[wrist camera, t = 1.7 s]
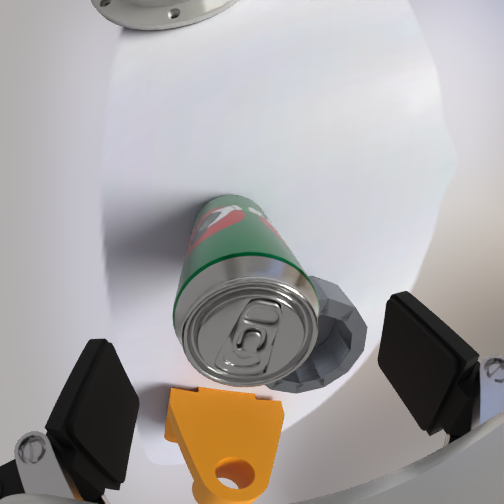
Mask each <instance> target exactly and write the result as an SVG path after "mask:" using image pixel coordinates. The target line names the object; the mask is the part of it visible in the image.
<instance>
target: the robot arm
mask: <svg viewBox="0 0 504 504" xmlns="http://www.w3.org/2000/svg"><path fill="white" fill-rule="evenodd" d="M238 1H239V0H91V2H92V4H93V5H94V7H95V8H96V9H97V10H98V12H99V13H101V15H103V16H104V17H105V18H106V19H107V20H109V21H111V22H113V23H115V24H117V25H120V26H123V27H127V28H131V29H141V30H162V29H169V28H175V27H181V26H185V25H189V24H192V23H196V22H199V21H202V20H204V19H207V18H210V17H212V16H215V15H217V14H219V13H220V12H222V11H224V10H226V9H228V8H230V7H231V6H232V5H234V4H235V3H236V2H238ZM174 16H178V17H177V18H174V19H172V18H173V17H174ZM478 358H479V354H478V353H477V352H476V351H475V350H474V349H473V348H472V347H471V346H469V345H468V344H467V343H466V342H465V341H464V340H463V339H462V338H461V337H460V336H459V335H458V334H456V333H455V332H454V331H453V330H452V329H451V328H450V327H449V326H447V325H446V324H445V323H444V322H443V321H442V320H441V319H440V318H439V317H437V316H436V315H435V314H434V313H433V312H432V311H430V310H429V309H428V308H427V307H426V306H425V305H423V304H422V303H421V302H420V301H419V300H418V299H416V298H415V297H414V296H413V295H412V294H410V293H409V292H407V291H404V292H400V293H396V294H393V295H391V297H390V299H389V300H388V301H387V303H386V310H385V317H384V324H383V331H382V337H381V343H380V349H379V354H378V364H379V367H380V369H381V370H382V371H383V373H384V374H385V376H386V377H387V379H388V380H389V382H390V383H391V384H392V386H393V388H394V389H395V390H396V392H397V393H398V395H399V396H400V398H401V399H402V401H403V402H404V404H405V405H406V407H407V408H408V410H409V411H410V413H411V414H412V416H413V417H414V419H415V420H416V422H417V423H418V425H419V427H420V428H421V429H422V430H424V431H425V430H426V431H427V433H428V434H429V435H430V436H431V435H433V434H435V433H437V432H439V431H440V430H442V429H444V431H445V432H446V435H445V441H444V446H443V448H441V449H439V450H437V451H436V452H434V453H432V454H430V455H428V456H426V457H424V458H422V459H420V460H418V461H416V462H414V463H412V464H410V465H408V466H406V467H404V468H401V469H399V470H397V471H395V472H392V473H390V474H387V475H385V476H382V477H380V478H377V479H375V480H372V481H370V482H367V483H364V484H361V485H358V486H355V487H352V488H349V489H346V490H343V491H340V492H336V493H333V494H329V495H326V496H322V497H318V498H314V499H310V500H306V501H301V502H297V503H291V504H504V357H503V356H499V355H490V356H487V357H485V358H484V359H483V360H482V362H481V363H479V362H478V361H477V360H478ZM138 410H139V398H138V396H137V394H136V392H135V390H134V388H133V386H132V384H131V382H130V380H129V378H128V376H127V374H126V372H125V370H124V368H123V366H122V364H121V362H120V360H119V357H118V355H117V353H116V351H115V348H114V346H113V345H112V343H108V341H107V340H106V339H91V340H89V341H88V343H87V344H86V346H85V348H84V350H83V351H82V353H81V355H80V357H79V359H78V361H77V362H76V364H75V366H74V368H73V370H72V372H71V374H70V376H69V378H68V380H67V382H66V384H65V386H64V388H63V390H62V392H61V394H60V396H59V398H58V400H57V402H56V404H55V406H54V408H53V411H52V412H51V415H50V417H49V419H48V421H47V424H46V426H45V429H46V430H47V433H46V435H44V434H43V433H41V432H38V431H33V432H29V433H26V434H25V435H24V436H22V437H21V438H20V439H19V440H18V442H17V444H16V446H15V450H14V453H15V459H14V460H12V461H10V462H8V463H6V464H4V465H2V466H0V504H110V502H109V501H108V499H107V498H106V497H105V495H104V492H105V488H107V489H113V490H119V489H120V484H121V483H123V482H124V481H125V477H126V471H127V465H128V459H129V453H130V448H131V443H132V438H133V433H134V428H135V423H136V419H137V414H138Z"/></svg>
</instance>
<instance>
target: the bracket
mask: <svg viewBox="0 0 504 504" xmlns="http://www.w3.org/2000/svg"><path fill="white" fill-rule="evenodd" d="M283 420H284V411H283V407H282V404H281V401H271V400H257V399H256V396H255V394H252V393H242V392H233V391H225V390H217V389H210V388H204V387H199V388H198V391H197V392H192V391H186V390H181V389H175V388H171V392H170V398H169V404H168V411H167V418H166V425H165V435H164V437H165V439H166V440H168V441H170V442H175V443H178V445H179V447H180V450H181V452H182V454H183V457H184V459H185V461H186V464H187V466H188V468H189V470H190V473H191V475H192V477H193V479H194V482H193V486H192V491H193V496H194V498H195V500H196V501H197V502H198V504H252V503H253V502H254V501H255V500H256V499H257V498H258V497H259V496H260V495H261V494H262V493H263V492H264V491H265V489H266V488H267V486H268V483H269V479H270V475H271V471H272V467H273V463H274V459H275V455H276V451H277V447H278V442H279V438H280V433H281V429H282V424H283ZM218 477H219V478H227V479H230V480H232V481H233V482H234V483H236V484H237V486H238V487H239V489H232V488H229V487H226V486H225V485H223V484H222V483H221V482H220V481H219V480H218V479H217V478H218Z"/></svg>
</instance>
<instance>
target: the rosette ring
mask: <svg viewBox="0 0 504 504" xmlns="http://www.w3.org/2000/svg"><path fill="white" fill-rule="evenodd" d="M309 278H310V280H311V282H312V283H313V285H314V287H315V290H316V292H317V295H318V300H319V316H321V315H326V316H329V317H333V318H336V320H335V327H334V329H333V331H332V332H331V334H330V335H329V337H328V338H327V340H326V341H325V342H324V343H323V344H321V345H320V346H318V347H316V348H315V349H313V350H312V352H311V353H310V355H309V357H308V358H307V359H306V360H305V361H304V363H303V364H302V365H301V366H299V367H298V368H297V369H296V370H295V371H293V372H292V373H290V374H289V375H287V376H285V377H284V378H282V379H280V380H277V381H275V382H272V383H269V384H265V385H266V386H267V387H268V388H269V389H271V390H277V391H283V392H290V393H301V392H305V391H310V390H314V389H318V388H322V387H325V386H326V385H328V384H330V383H331V382H333V381H334V380H336V379H338V378H339V377H341V376H342V375H344V374H345V373H347V372H348V371H349V370H350V368H351V367H352V366H353V364H354V363H355V362H356V360H357V359H358V358H359V356H360V355H361V354H362V352H363V351H364V346H365V339H366V333H367V326H366V324H365V322H364V321H363V319H362V317H361V316H360V314H359V312H358V311H357V309H356V307H355V306H354V305H353V304H352V302H351V301H350V300H349V299H348V297H347V296H346V295H345V294H344V292H343V291H342V290H341V289H340V288H339V286H338V285H336V284H333V283H331V282H328V281H325V280H322V279H320V278H317V277H314V276H310V277H309Z"/></svg>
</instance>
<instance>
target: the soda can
mask: <svg viewBox="0 0 504 504" xmlns="http://www.w3.org/2000/svg"><path fill="white" fill-rule="evenodd" d="M318 318H319V300H318V295H317V292H316V290H315V287H314V285H313V283H312V282H311V280H310V278H309V277H308V275H307V274H306V272H305V271H304V270H303V268H302V267H301V265H300V264H299V262H298V261H297V259H296V258H295V256H294V255H293V253H292V252H291V251H290V249H289V248H288V246H287V245H286V243H285V242H284V240H283V239H282V238H281V236H280V235H279V233H278V232H277V230H276V229H275V228H274V226H273V225H272V223H271V222H270V221H269V219H268V218H267V216H266V215H265V213H264V212H263V211H262V209H261V208H260V207H259V206H258V205H257V204H256V203H255V202H253V201H252V200H250V199H248V198H245V197H243V196H238V195H225V196H221V197H217V198H215V199H213V200H211V201H210V202H208V203H207V204H206V205H205V206H204V207H203V208H202V209H201V210H200V211H199V213H198V215H197V217H196V219H195V222H194V225H193V229H192V233H191V236H190V240H189V244H188V248H187V252H186V256H185V260H184V264H183V268H182V272H181V276H180V280H179V285H178V289H177V293H176V298H175V302H174V308H173V326H174V329H175V333H176V336H177V338H178V340H179V342H180V344H181V345H182V346H183V350H184V353H185V355H186V357H187V359H188V361H189V362H190V363H191V364H192V366H193V367H194V368H195V369H196V370H197V371H198V372H199V373H201V374H202V375H204V376H205V377H207V378H209V379H211V380H213V381H215V382H218V383H221V384H224V385H229V386H235V387H254V386H261V385H265V384H269V383H272V382H275V381H277V380H280V379H282V378H284V377H285V376H287V375H289V374H290V373H292V372H293V371H295V370H296V369H297V368H298V367H299V366H301V365H302V364H303V363H304V361H305V360H306V359H307V358H308V357H309V355H310V353H311V352H312V350H313V348H314V346H315V343H316V340H317V336H318Z"/></svg>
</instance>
